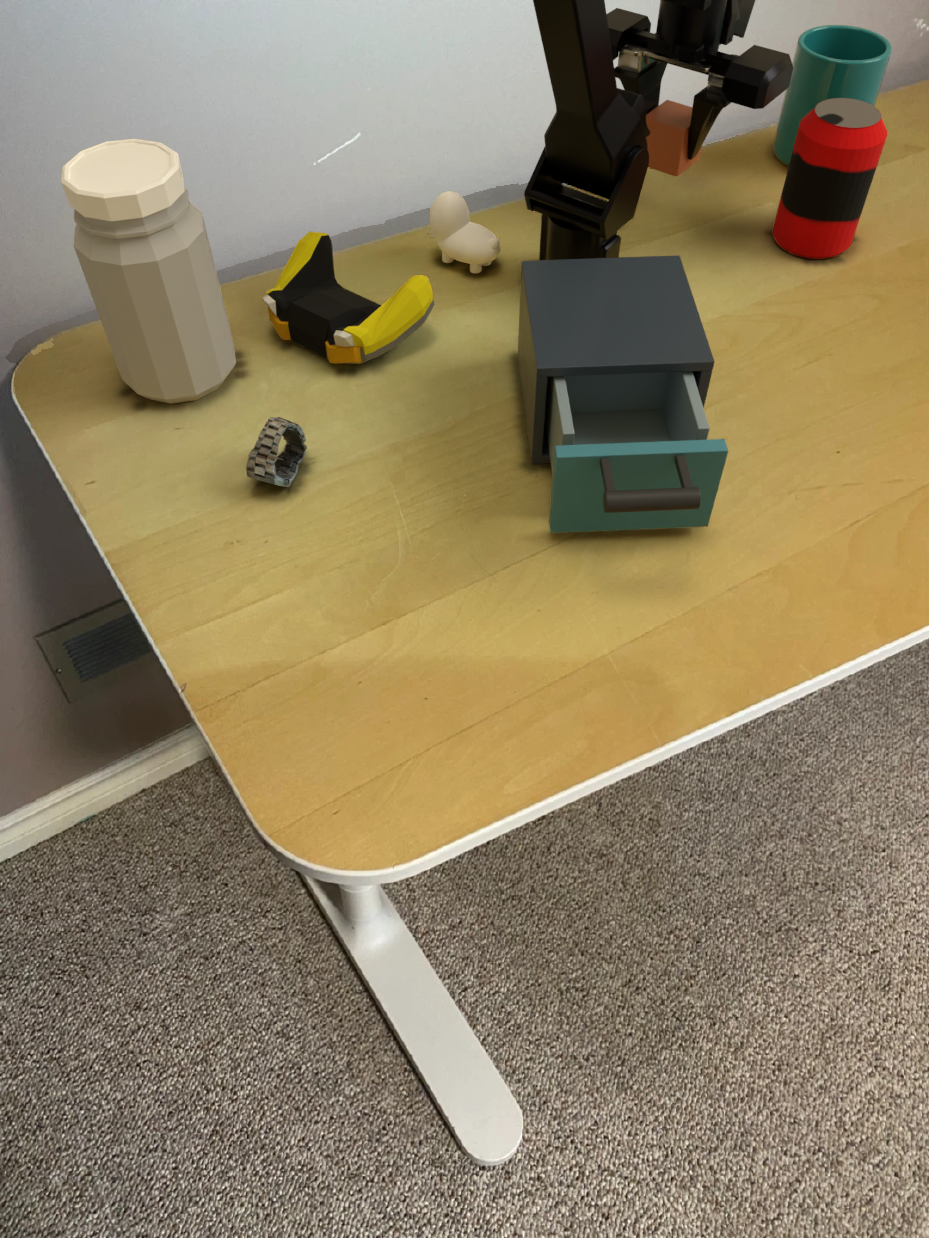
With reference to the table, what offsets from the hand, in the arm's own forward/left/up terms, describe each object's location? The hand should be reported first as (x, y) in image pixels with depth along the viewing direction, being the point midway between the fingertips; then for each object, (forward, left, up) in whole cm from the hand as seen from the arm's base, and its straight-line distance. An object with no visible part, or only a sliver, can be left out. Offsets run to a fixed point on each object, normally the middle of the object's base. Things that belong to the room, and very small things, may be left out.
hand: (670, 151), depth 94 cm
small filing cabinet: (+12, -30, -6) cm, 33 cm away
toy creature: (-10, -20, -6) cm, 23 cm away
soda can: (+15, +3, -6) cm, 16 cm away
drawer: (+19, -39, -5) cm, 43 cm away
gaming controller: (-12, -35, -6) cm, 38 cm away
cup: (+8, +20, -6) cm, 22 cm away
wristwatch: (-3, -52, -6) cm, 52 cm away
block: (0, 0, -1) cm, 1 cm away
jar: (-19, -48, -6) cm, 52 cm away
